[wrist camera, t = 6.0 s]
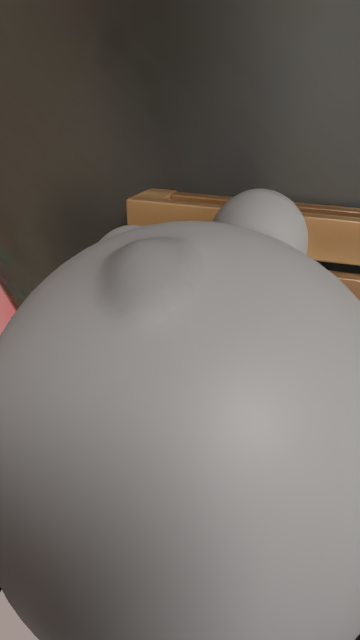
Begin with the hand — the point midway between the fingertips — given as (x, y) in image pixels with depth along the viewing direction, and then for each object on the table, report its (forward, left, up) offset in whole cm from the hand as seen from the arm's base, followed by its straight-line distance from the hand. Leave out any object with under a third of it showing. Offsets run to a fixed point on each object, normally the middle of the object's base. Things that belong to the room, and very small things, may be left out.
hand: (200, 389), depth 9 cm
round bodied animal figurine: (0, -1, -2) cm, 2 cm away
